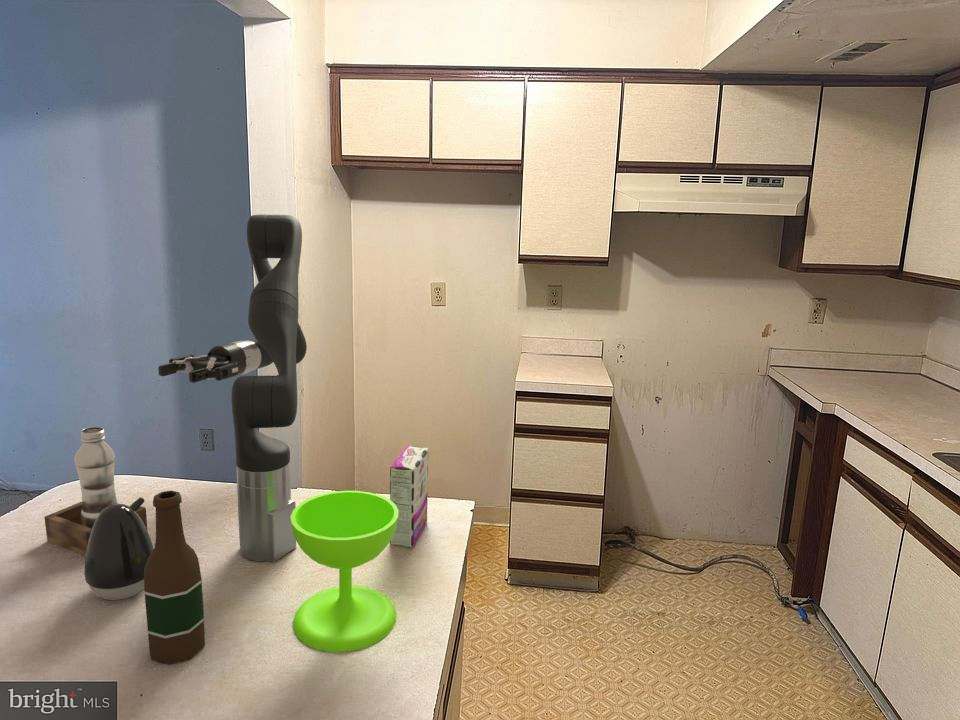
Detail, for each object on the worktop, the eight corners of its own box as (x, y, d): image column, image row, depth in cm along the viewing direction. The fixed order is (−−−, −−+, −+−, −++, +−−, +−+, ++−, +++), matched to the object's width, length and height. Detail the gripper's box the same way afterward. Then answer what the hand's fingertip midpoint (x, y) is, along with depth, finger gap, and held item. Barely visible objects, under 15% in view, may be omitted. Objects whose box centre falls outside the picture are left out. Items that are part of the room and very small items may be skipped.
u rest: (147, 531, 125) (145, 507, 123) (92, 558, 115) (90, 533, 113) (103, 516, 129) (101, 493, 128) (47, 541, 119) (44, 516, 118)
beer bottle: (160, 630, 97) (148, 482, 91) (214, 630, 98) (205, 482, 92) (138, 667, 89) (124, 507, 84) (196, 666, 90) (186, 507, 84)
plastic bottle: (104, 541, 119) (94, 438, 114) (73, 535, 120) (62, 433, 115) (130, 524, 125) (121, 426, 120) (99, 519, 126) (90, 422, 121)
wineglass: (309, 585, 110) (308, 487, 106) (403, 591, 110) (405, 493, 105) (278, 648, 94) (274, 536, 90) (387, 655, 94) (389, 543, 90)
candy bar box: (404, 518, 135) (405, 444, 131) (427, 521, 134) (430, 447, 130) (387, 545, 124) (389, 465, 120) (413, 549, 123) (415, 468, 119)
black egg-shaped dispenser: (172, 580, 109) (166, 497, 106) (121, 615, 100) (112, 526, 96) (126, 567, 113) (119, 486, 109) (71, 600, 103) (61, 512, 99)
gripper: (210, 338, 147) (148, 351, 132) (259, 346, 141) (200, 361, 127) (212, 370, 148) (151, 386, 134) (260, 379, 143) (202, 398, 128)
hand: (174, 374), depth 130 cm, fingers open, 8 cm apart
